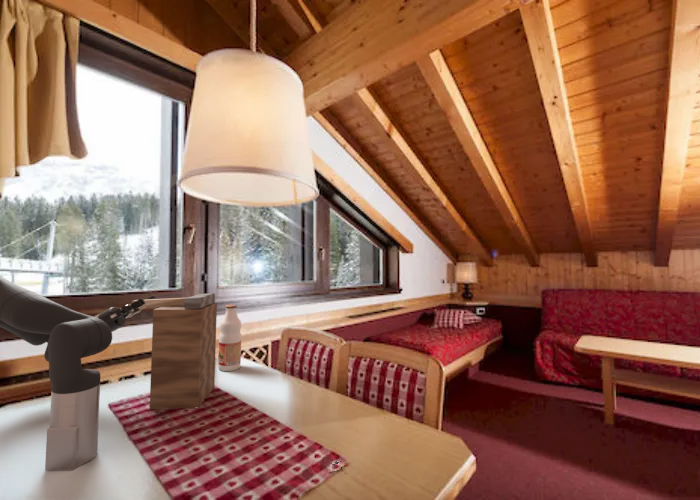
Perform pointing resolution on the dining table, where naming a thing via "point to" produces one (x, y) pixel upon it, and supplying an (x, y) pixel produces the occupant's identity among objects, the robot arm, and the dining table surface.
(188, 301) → the scraper
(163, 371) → the stand
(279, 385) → the dining table surface
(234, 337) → the fruit juice
